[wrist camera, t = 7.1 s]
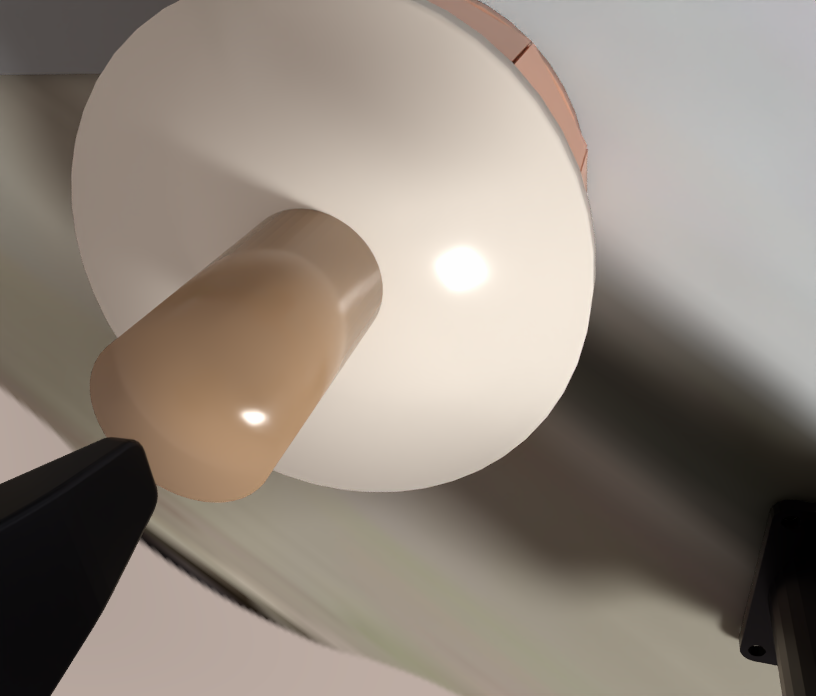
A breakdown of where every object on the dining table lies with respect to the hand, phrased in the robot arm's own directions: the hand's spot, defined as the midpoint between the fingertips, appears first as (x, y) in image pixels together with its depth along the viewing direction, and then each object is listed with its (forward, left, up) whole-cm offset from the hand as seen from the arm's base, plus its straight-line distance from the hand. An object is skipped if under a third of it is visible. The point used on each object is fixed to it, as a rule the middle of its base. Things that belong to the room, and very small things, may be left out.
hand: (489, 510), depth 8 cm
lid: (0, +5, -7) cm, 9 cm away
